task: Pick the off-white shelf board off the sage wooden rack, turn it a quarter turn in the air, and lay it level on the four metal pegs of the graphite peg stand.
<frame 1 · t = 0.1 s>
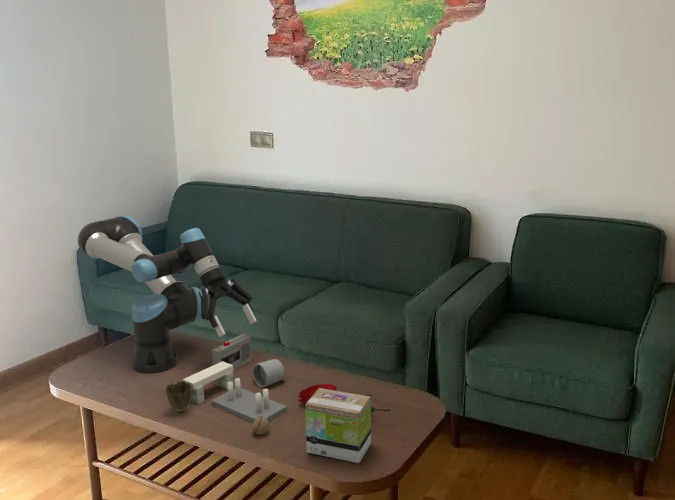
hand: (238, 328, 227), 15 cm above the table, tool tilted 35°, fingers open, 13 cm apart
cassette player: (233, 368, 235), on the table
flower: (344, 414, 203), on the table
shelf board: (208, 378, 216), point 5 cm above the table, touching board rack
tea box: (339, 450, 184), on the table
cup: (180, 411, 207), on the table
peg stand: (249, 407, 207), on the table
ceramic mug: (266, 382, 224), on the table
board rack: (210, 392, 218), on the table
walnut: (260, 433, 193), on the table
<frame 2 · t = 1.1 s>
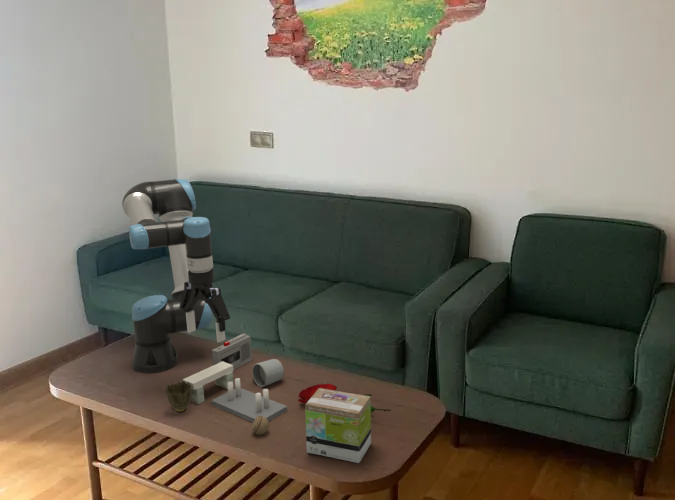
hand: (206, 336, 213), 19 cm above the table, tool pointing down, fingers open, 13 cm apart
nothing on the table moved.
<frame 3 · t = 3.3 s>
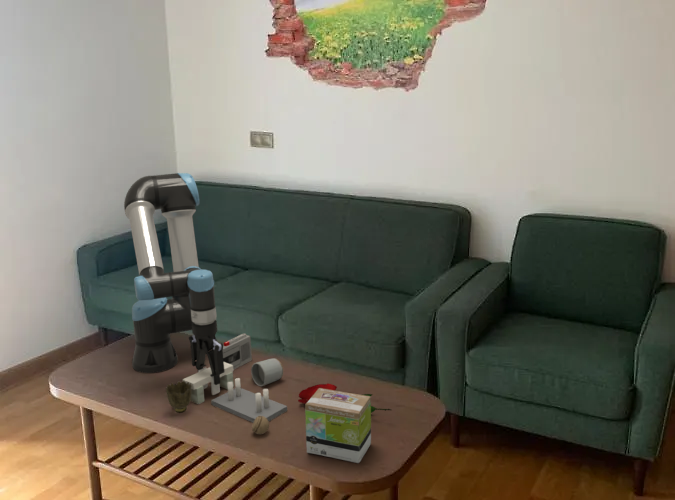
hand: (209, 390, 217), 1 cm above the table, tool pointing down, fingers closed on shelf board, 5 cm apart
shelf board: (208, 378, 216), point 5 cm above the table, touching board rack, gripper
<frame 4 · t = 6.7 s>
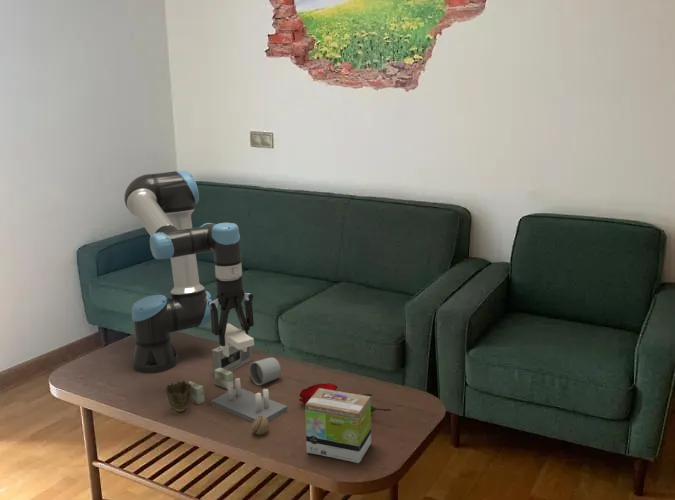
hand: (234, 352, 205), 17 cm above the table, tool pointing down, fingers closed on shelf board, 5 cm apart
shelf board: (233, 339, 204), point 21 cm above the table, touching gripper
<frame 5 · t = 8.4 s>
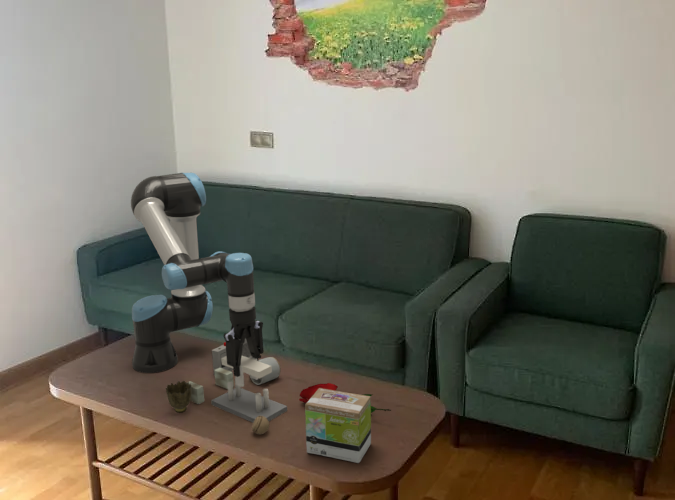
hand: (247, 381, 205), 9 cm above the table, tool pointing down, fingers closed on shelf board, 5 cm apart
shelf board: (246, 368, 204), point 13 cm above the table, touching gripper
when the fingers open (4 cm above the table, at t = 10.0 s): shelf board stays where it is, resting on peg stand.
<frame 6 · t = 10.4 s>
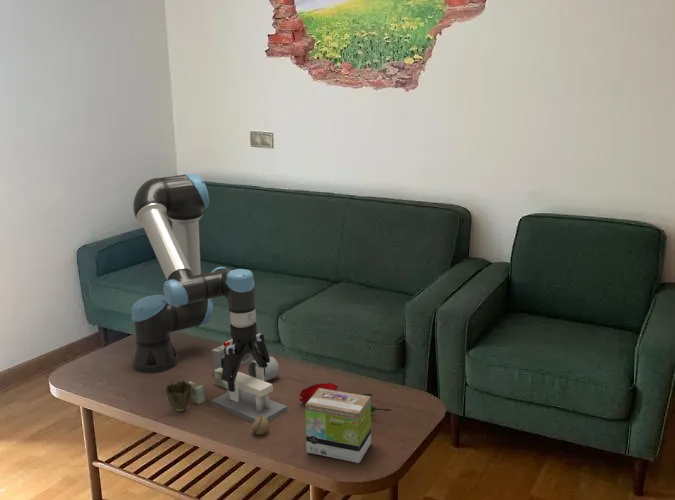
hand: (248, 393, 206), 5 cm above the table, tool pointing down, fingers open, 10 cm apart
shelf board: (247, 386, 206), point 7 cm above the table, touching peg stand
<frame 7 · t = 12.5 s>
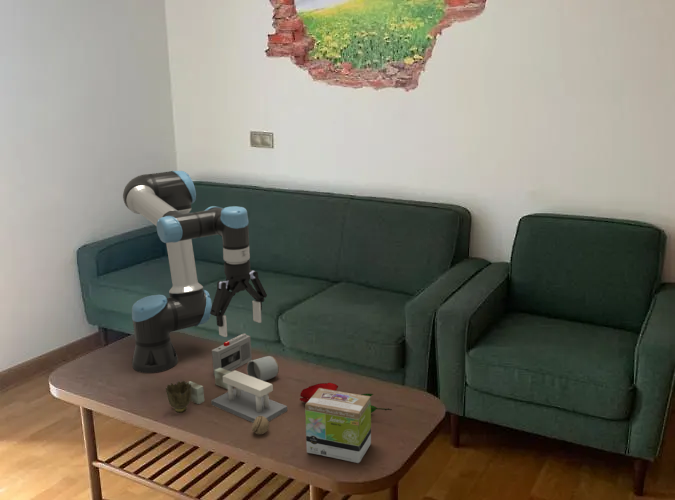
hand: (240, 328, 207), 23 cm above the table, tool pointing down, fingers open, 13 cm apart
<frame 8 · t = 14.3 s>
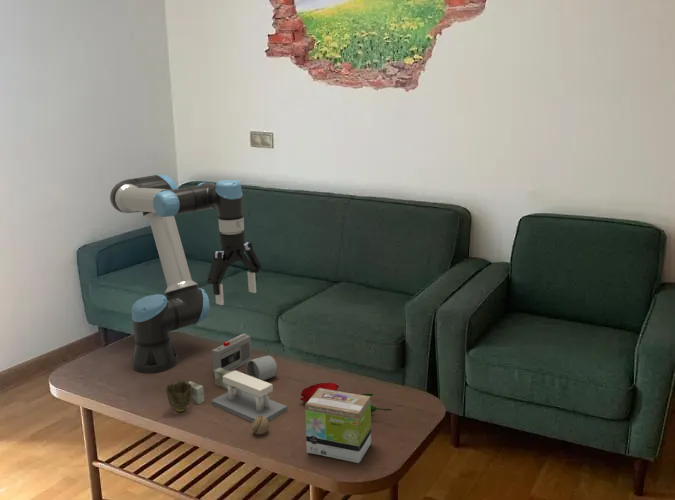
hand: (236, 298, 216), 29 cm above the table, tool pointing down, fingers open, 13 cm apart
at the end: shelf board 0.0 cm off-centre on the peg stand, point 7.0 cm above the peg stand's base; shelf board tilted 0°; the gripper is holding nothing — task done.
